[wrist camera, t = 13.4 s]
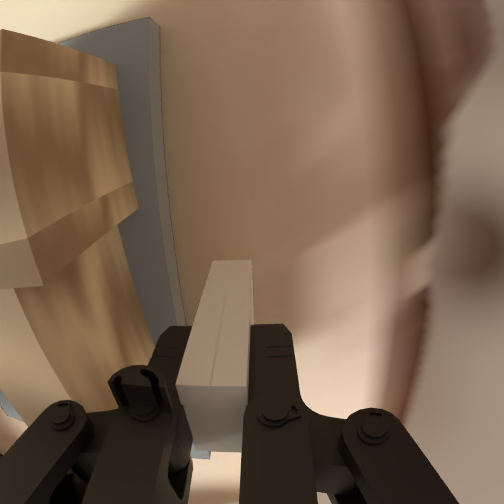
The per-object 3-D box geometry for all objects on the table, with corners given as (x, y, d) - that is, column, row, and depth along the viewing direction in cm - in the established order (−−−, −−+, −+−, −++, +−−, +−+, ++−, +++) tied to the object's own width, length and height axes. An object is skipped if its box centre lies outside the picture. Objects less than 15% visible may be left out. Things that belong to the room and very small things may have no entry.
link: (9, 110, 11) (-100, 124, 4) (115, 63, 10) (1, 28, 4) (107, 402, 18) (71, 485, 11) (197, 405, 17) (179, 506, 11)
